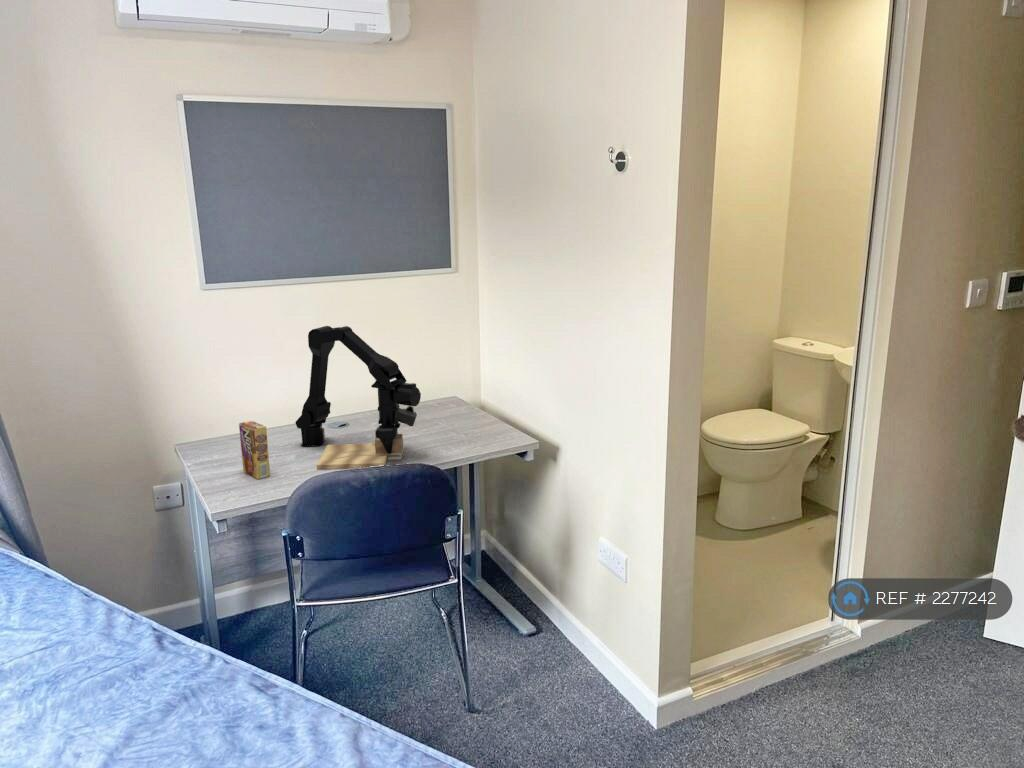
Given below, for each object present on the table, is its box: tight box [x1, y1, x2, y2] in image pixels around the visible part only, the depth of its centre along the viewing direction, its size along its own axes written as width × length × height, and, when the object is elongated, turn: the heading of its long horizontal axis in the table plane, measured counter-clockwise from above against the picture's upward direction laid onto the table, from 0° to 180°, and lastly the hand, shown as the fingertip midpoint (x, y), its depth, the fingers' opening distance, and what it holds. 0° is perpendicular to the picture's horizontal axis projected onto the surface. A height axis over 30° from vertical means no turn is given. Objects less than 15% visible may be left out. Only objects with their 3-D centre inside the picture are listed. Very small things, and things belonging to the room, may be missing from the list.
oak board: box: [316, 443, 388, 471], centre depth 232 cm, size 20×18×2 cm
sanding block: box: [374, 433, 404, 456], centre depth 232 cm, size 8×5×5 cm, turn 93°
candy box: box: [238, 420, 271, 480], centre depth 218 cm, size 9×4×15 cm, turn 47°
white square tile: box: [387, 454, 403, 461], centre depth 233 cm, size 4×4×1 cm
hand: (390, 450), depth 232 cm, fingers closed on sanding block, 5 cm apart
